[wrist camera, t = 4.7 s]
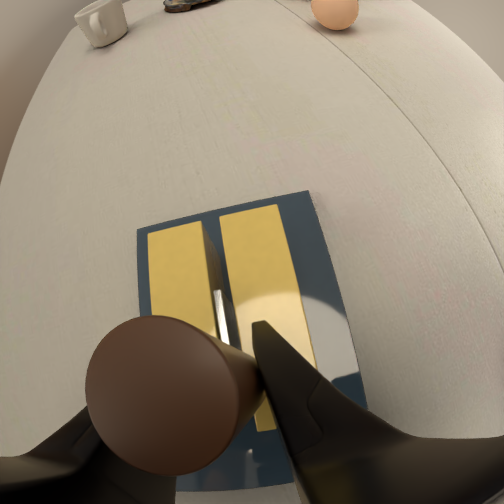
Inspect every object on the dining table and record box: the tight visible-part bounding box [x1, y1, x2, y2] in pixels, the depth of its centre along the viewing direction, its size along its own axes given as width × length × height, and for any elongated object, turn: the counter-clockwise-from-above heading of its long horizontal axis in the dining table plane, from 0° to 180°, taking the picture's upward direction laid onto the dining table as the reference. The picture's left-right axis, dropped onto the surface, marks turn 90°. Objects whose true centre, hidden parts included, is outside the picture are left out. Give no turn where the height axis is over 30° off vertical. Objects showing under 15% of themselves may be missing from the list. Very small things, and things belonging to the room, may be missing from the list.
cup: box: [74, 0, 127, 47], centre depth 31 cm, size 11×8×8 cm
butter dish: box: [137, 190, 368, 492], centre depth 13 cm, size 16×11×5 cm
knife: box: [85, 289, 266, 476], centre depth 9 cm, size 5×2×11 cm, turn 11°
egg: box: [311, 0, 359, 30], centre depth 25 cm, size 6×6×8 cm
